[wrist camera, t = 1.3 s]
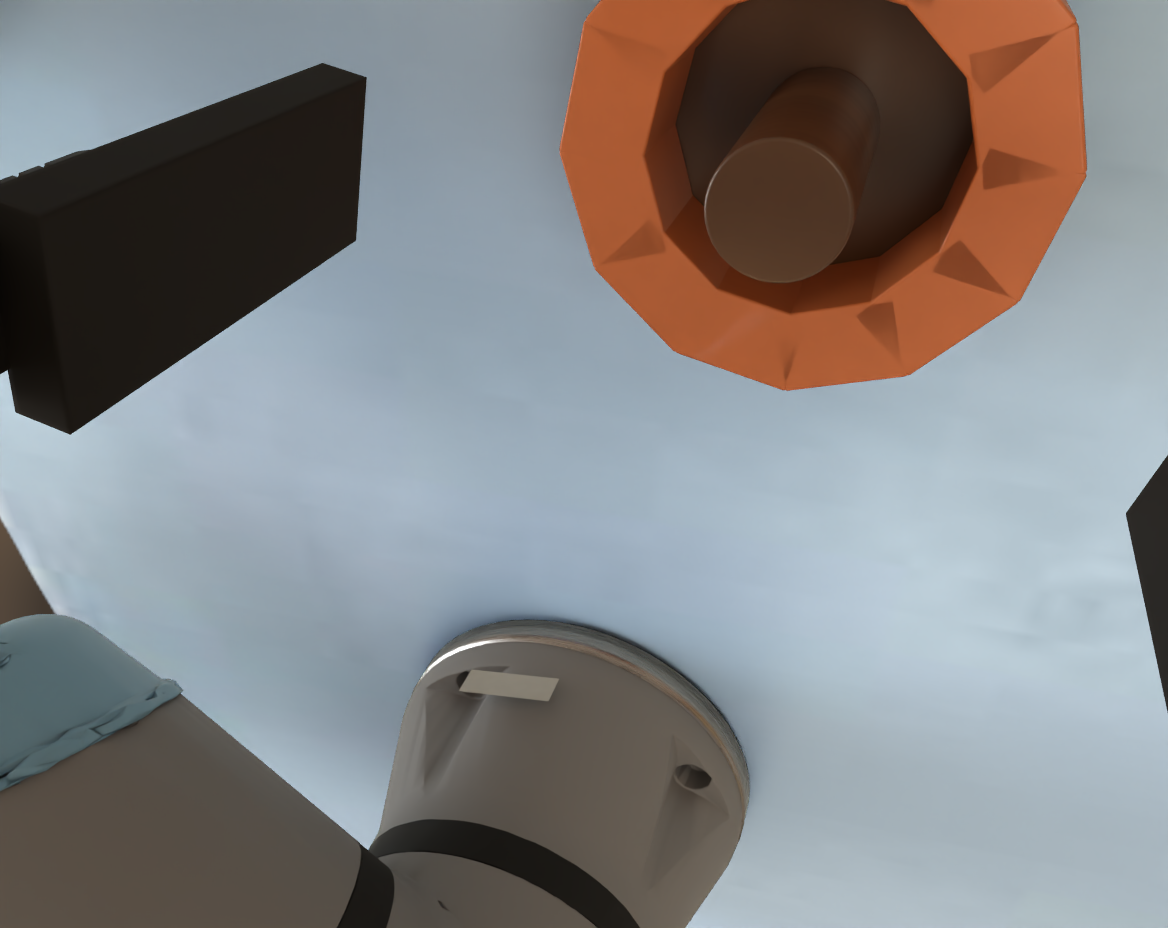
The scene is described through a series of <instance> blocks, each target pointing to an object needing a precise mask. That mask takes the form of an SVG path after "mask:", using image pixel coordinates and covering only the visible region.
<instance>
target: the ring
mask: <svg viewBox="0 0 1168 928" xmlns="http://www.w3.org/2000/svg"><path fill="white" fill-rule="evenodd" d="M745 1H748V0H601V1H600V2H599V3H598V4H597V5H596V7H595V8H594V9H593V10H592V11H591V13H590V14H589V15H588V16H587V17H586V21H585V22H584V24H583V29H582V34H581V39H580V44H579V50H578V55H577V60H576V65H575V70H574V75H573V81H572V86H571V91H570V96H569V101H568V106H567V112H566V117H565V122H564V127H563V132H562V138H561V143H560V148H559V149H560V156H561V160H562V163H563V166H564V170H565V173H566V176H567V180H568V183H569V186H570V189H571V193H572V196H573V199H574V203H575V206H576V209H577V213H578V216H579V219H580V223H581V226H582V229H583V233H584V236H585V239H586V243H587V246H588V249H589V252H590V256H591V259H592V262H593V266H594V267H595V270H596V271H597V272H598V273H599V274H600V275H601V276H602V277H603V278H604V279H605V280H606V281H607V282H608V283H609V284H610V286H611V287H612V288H613V289H614V290H615V291H616V292H617V293H618V294H619V295H620V296H621V297H622V298H623V299H624V300H625V301H626V302H627V303H628V304H629V305H630V306H631V307H632V308H633V309H634V310H635V311H636V312H637V314H638V315H639V316H640V317H641V318H642V319H643V320H644V321H645V322H646V323H647V324H648V325H649V326H650V327H651V328H652V329H653V330H654V331H655V332H656V333H657V334H658V335H659V336H660V337H661V338H662V339H663V341H664V342H665V343H666V344H667V345H668V346H669V347H670V348H671V349H672V350H673V351H676V352H677V353H679V354H682V355H685V356H687V357H690V358H693V359H696V360H699V361H702V362H705V363H707V364H710V365H713V366H716V367H719V368H722V369H724V370H727V371H730V372H733V373H736V374H739V375H741V376H744V377H747V378H750V379H753V380H756V381H758V382H761V383H764V384H767V385H770V386H773V387H775V388H778V389H781V390H787V391H788V390H797V389H805V388H813V387H821V386H829V385H838V384H846V383H854V382H862V381H871V380H879V379H887V378H895V377H904V376H907V375H910V374H912V373H913V372H915V371H916V370H918V369H919V368H921V367H922V366H924V365H925V364H927V363H928V362H930V361H931V360H933V359H934V358H936V357H937V356H939V355H940V354H942V353H943V352H945V351H946V350H948V349H949V348H951V347H952V346H954V345H955V344H957V343H958V342H960V341H961V340H963V339H964V338H966V337H967V336H969V335H970V334H972V333H973V332H975V331H976V330H978V329H979V328H981V327H982V326H984V325H985V324H987V323H988V322H990V321H991V320H993V319H994V318H996V317H997V316H999V315H1000V314H1002V313H1003V312H1005V311H1006V310H1008V309H1009V308H1011V307H1012V306H1014V305H1015V304H1017V302H1018V301H1020V300H1021V298H1022V296H1023V294H1024V292H1025V290H1026V289H1027V287H1028V285H1029V283H1030V281H1031V279H1032V277H1033V275H1034V274H1035V272H1036V270H1037V268H1038V266H1039V264H1040V262H1041V260H1042V259H1043V257H1044V255H1045V253H1046V251H1047V249H1048V247H1049V245H1050V244H1051V242H1052V240H1053V238H1054V236H1055V234H1056V232H1057V230H1058V229H1059V227H1060V225H1061V223H1062V221H1063V219H1064V217H1065V215H1066V214H1067V212H1068V210H1069V208H1070V206H1071V204H1072V202H1073V200H1074V199H1075V197H1076V195H1077V193H1078V191H1079V189H1080V187H1081V185H1082V184H1083V182H1084V180H1085V178H1086V170H1087V160H1086V143H1085V126H1084V109H1083V92H1082V75H1081V58H1080V42H1079V26H1078V24H1077V22H1076V17H1075V15H1074V14H1073V12H1072V10H1071V8H1070V7H1069V5H1068V3H1067V1H1066V0H887V1H890V2H894V3H897V4H901V5H904V6H907V7H908V8H909V9H910V11H911V12H912V13H913V14H914V15H915V17H916V18H917V19H918V20H919V21H920V23H921V24H922V25H923V26H924V27H925V29H926V30H927V31H928V32H929V33H930V35H931V36H932V37H933V38H934V39H935V41H936V42H937V43H938V44H939V45H940V47H941V48H942V49H943V50H944V51H945V53H946V54H947V55H948V56H949V57H950V59H951V60H952V61H953V62H954V63H955V65H956V66H957V67H958V68H959V70H960V71H961V72H962V73H963V74H964V76H965V77H966V78H967V86H968V95H969V104H970V113H971V122H972V131H973V141H972V144H971V146H970V148H969V150H968V153H967V155H966V157H965V159H964V161H963V164H962V166H961V168H960V170H959V172H958V175H957V177H956V179H955V181H954V184H953V186H952V188H951V190H950V192H949V195H948V197H947V199H946V201H945V204H944V206H943V208H942V209H941V210H940V211H939V212H937V213H936V214H935V215H933V216H932V217H931V218H929V219H928V220H927V221H926V222H924V223H923V224H922V225H920V226H919V227H918V228H916V229H915V230H914V231H913V232H911V233H910V234H909V235H907V236H906V237H905V238H903V239H902V240H901V241H899V242H898V243H897V244H896V245H894V246H893V247H892V248H890V249H889V250H888V251H886V252H885V253H884V254H883V255H881V256H880V257H874V258H868V259H862V260H856V261H851V262H845V263H839V264H833V265H828V266H827V267H826V268H824V269H823V270H821V271H820V272H819V273H817V274H815V275H813V276H811V277H808V278H806V279H803V280H799V281H795V282H790V283H769V282H763V281H759V280H755V279H752V278H750V277H748V276H745V275H744V274H742V273H740V272H738V271H737V270H735V269H734V268H733V267H731V266H730V265H729V264H728V263H727V262H726V261H725V260H724V259H723V258H722V257H721V256H720V254H719V253H718V252H717V250H716V249H715V247H714V246H713V244H712V242H711V240H710V237H709V235H708V232H707V229H706V224H705V218H704V206H703V205H702V204H701V203H700V202H699V201H698V200H697V199H696V198H695V197H694V196H693V194H692V190H691V186H690V182H689V178H688V174H687V169H686V165H685V161H684V157H683V153H682V149H681V145H680V141H679V137H678V133H677V129H676V125H675V124H676V120H677V116H678V112H679V109H680V105H681V101H682V97H683V93H684V90H685V86H686V82H687V78H688V74H689V70H690V67H691V63H692V59H693V55H694V51H695V48H696V47H697V46H698V45H699V44H700V43H701V42H702V41H703V40H704V39H705V38H706V37H707V35H708V34H709V33H710V32H711V31H712V30H713V29H714V28H715V27H716V26H717V25H718V24H719V23H720V22H721V21H722V20H723V18H724V17H725V16H726V15H727V14H728V13H729V12H730V11H731V10H732V9H733V8H734V7H735V6H736V5H737V4H738V3H742V2H745Z"/></svg>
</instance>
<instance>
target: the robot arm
mask: <svg viewBox="0 0 1168 928" xmlns="http://www.w3.org/2000/svg"><path fill="white" fill-rule="evenodd" d="M366 78H367V77H364V76H361V75H358V74H355V73H352V72H348V71H345V70H342V69H339V68H336V67H333V66H330V65H327V64H324V63H321V64H319V65H316V66H313V67H311V68H308V69H305V70H303V71H300V72H297V73H295V74H292V75H289V76H287V77H284V78H281V79H279V80H276V81H273V82H271V83H268V84H265V85H263V86H260V87H257V88H255V89H252V90H249V91H247V92H244V93H241V94H239V95H236V96H233V97H231V98H228V99H225V100H223V101H220V102H217V103H215V104H212V105H209V106H207V107H204V108H201V109H199V110H196V111H193V112H191V113H188V114H185V115H183V116H180V117H177V118H175V119H172V120H169V121H167V122H164V123H161V124H159V125H156V126H153V127H151V128H148V129H145V130H143V131H140V132H137V133H135V134H132V135H129V136H127V137H124V138H121V139H119V140H116V141H113V142H111V143H108V144H105V145H103V146H100V147H97V148H95V149H92V150H85V151H78V152H74V153H72V154H69V155H66V156H64V157H61V158H58V159H56V160H53V161H50V162H47V163H45V166H44V168H43V167H41V166H37V167H34V168H31V169H29V170H26V171H23V172H21V173H19V176H18V177H15V176H10V177H7V178H4V179H2V180H0V374H1V373H3V372H5V371H7V370H8V374H9V380H10V385H11V390H12V396H13V401H14V406H15V412H16V413H18V414H21V415H23V416H26V417H28V418H31V419H33V420H36V421H38V422H41V423H43V424H46V425H48V426H50V427H53V428H55V429H58V430H60V431H63V432H65V433H68V434H70V435H71V434H72V433H74V432H75V431H76V430H78V429H79V428H81V427H82V426H84V425H85V424H87V423H88V422H90V421H91V420H93V419H94V418H96V417H97V416H99V415H100V414H101V413H103V412H104V411H106V410H107V409H109V408H110V407H112V406H113V405H115V404H116V403H118V402H119V401H121V400H122V399H124V398H125V397H126V396H128V395H129V394H131V393H132V392H134V391H135V390H137V389H138V388H140V387H141V386H143V385H144V384H146V383H147V382H149V381H150V380H151V379H153V378H154V377H156V376H157V375H159V374H160V373H162V372H163V371H165V370H166V369H168V368H169V367H171V366H172V365H174V364H175V363H176V362H178V361H179V360H181V359H182V358H184V357H185V356H187V355H188V354H190V353H191V352H193V351H194V350H196V349H197V348H199V347H200V346H201V345H203V344H204V343H206V342H207V341H209V340H210V339H212V338H213V337H215V336H216V335H218V334H219V333H221V332H222V331H224V330H225V329H226V328H228V327H229V326H231V325H232V324H234V323H235V322H237V321H238V320H240V319H241V318H243V317H244V316H246V315H247V314H249V313H250V312H251V311H253V310H254V309H256V308H257V307H259V306H260V305H262V304H263V303H265V302H266V301H268V300H269V299H271V298H272V297H274V296H275V295H276V294H278V293H279V292H281V291H282V290H284V289H285V288H287V287H288V286H290V285H291V284H293V283H294V282H296V281H297V280H298V279H300V278H301V277H303V276H304V275H306V274H307V273H309V272H310V271H312V270H313V269H315V268H316V267H318V266H319V265H321V264H322V263H323V262H325V261H326V260H328V259H329V258H331V257H332V256H334V255H335V254H337V253H338V252H340V251H341V250H343V249H344V248H346V247H347V246H348V245H350V244H351V243H353V242H354V241H356V232H357V216H358V201H359V186H360V170H361V155H362V139H363V124H364V109H365V93H366ZM1126 517H1127V522H1128V527H1129V531H1130V536H1131V541H1132V545H1133V550H1134V555H1135V560H1136V564H1137V569H1138V574H1139V579H1140V583H1141V588H1142V593H1143V598H1144V602H1145V607H1146V612H1147V617H1148V621H1149V626H1150V631H1151V635H1152V640H1153V645H1154V650H1155V654H1156V659H1157V664H1158V669H1159V673H1160V678H1161V683H1162V688H1163V692H1164V697H1165V702H1166V707H1167V711H1168V456H1167V457H1166V458H1165V460H1164V461H1163V462H1162V464H1161V465H1160V467H1159V468H1158V469H1157V471H1156V472H1155V474H1154V475H1153V476H1152V478H1151V479H1150V481H1149V482H1148V483H1147V485H1146V486H1145V488H1144V489H1143V490H1142V492H1141V493H1140V495H1139V496H1138V497H1137V499H1136V500H1135V502H1134V503H1133V504H1132V506H1131V507H1130V508H1129V510H1128V511H1127V513H1126ZM182 691H183V690H182V688H181V687H180V686H179V685H178V683H177V682H176V681H174V680H171V679H161V678H160V677H158V676H157V675H156V674H154V673H153V672H152V671H150V670H149V669H148V668H146V667H145V666H144V665H142V664H141V663H139V662H138V661H137V660H135V659H134V658H133V657H131V656H130V655H129V654H127V653H126V652H125V651H123V650H122V649H121V648H119V647H118V646H117V645H115V644H114V643H113V642H111V641H110V640H109V639H107V638H106V637H105V636H103V635H102V634H101V633H99V632H98V631H97V630H95V629H94V628H92V627H91V626H89V625H87V624H85V623H84V622H82V621H80V620H77V619H75V618H72V617H68V616H64V615H57V614H39V615H32V616H26V617H21V618H18V619H14V620H11V621H9V622H6V623H4V624H1V625H0V928H685V927H686V926H687V924H688V923H689V922H690V920H691V919H692V917H693V916H694V914H695V913H696V911H697V910H698V908H699V907H700V906H701V904H702V903H703V901H704V900H705V898H706V897H707V895H708V894H709V893H710V891H711V890H712V888H713V887H714V885H715V884H716V882H717V881H718V879H719V878H720V877H721V875H722V874H723V872H724V871H725V869H726V868H727V866H728V864H729V862H730V860H731V858H732V856H733V853H734V851H735V849H736V846H737V844H738V842H739V839H740V837H741V833H742V829H743V825H744V820H745V816H746V812H747V807H748V803H749V793H750V785H749V775H748V769H747V765H746V761H745V758H744V755H743V752H742V750H741V748H740V746H739V743H738V741H737V739H736V737H735V736H734V734H733V732H732V730H731V729H730V727H729V725H728V724H727V723H726V721H725V720H724V718H723V717H722V716H721V714H720V713H719V712H718V710H717V709H716V708H715V707H714V706H713V705H712V704H711V702H710V701H709V700H708V699H707V698H706V697H705V696H704V695H703V694H702V693H701V692H700V691H699V690H698V689H697V688H696V687H695V686H693V685H692V684H691V683H690V682H689V681H688V680H686V679H685V678H684V677H683V676H682V675H680V674H679V673H677V672H676V671H675V670H673V669H672V668H671V667H669V666H668V665H666V664H665V663H663V662H662V661H660V660H658V659H657V658H655V657H653V656H652V655H650V654H648V653H646V652H645V651H643V650H641V649H639V648H637V647H635V646H633V645H631V644H629V643H626V642H624V641H622V640H620V639H617V638H615V637H612V636H609V635H607V634H604V633H601V632H598V631H595V630H591V629H588V628H584V627H581V626H576V625H571V624H566V623H561V622H553V621H545V620H510V621H502V622H496V623H491V624H487V625H483V626H480V627H477V628H474V629H472V630H469V631H467V632H465V633H463V634H461V635H459V636H457V637H456V638H454V639H453V640H452V641H450V642H449V643H447V644H446V645H445V646H444V647H443V648H442V649H441V650H440V651H439V652H438V653H437V654H436V656H435V657H434V658H433V659H432V661H431V662H430V664H429V665H428V667H427V669H426V670H425V672H424V673H423V675H422V676H421V678H420V679H419V681H418V683H417V684H416V686H415V688H414V690H413V693H412V695H411V698H410V700H409V702H408V704H407V707H406V709H405V712H404V715H403V719H402V724H401V729H400V734H399V738H398V743H397V748H396V753H395V758H394V762H393V767H392V772H391V777H390V781H389V786H388V791H387V796H386V801H385V805H384V810H383V815H382V820H381V824H380V829H379V832H378V834H377V836H376V838H375V839H374V841H373V843H372V845H371V846H370V848H369V850H367V849H366V848H365V847H363V846H362V845H361V844H360V843H359V842H358V841H357V840H356V839H354V838H353V837H352V836H351V835H350V834H348V833H347V832H346V831H345V830H344V829H342V828H341V827H340V826H339V825H338V824H336V823H335V822H334V821H333V820H332V819H330V818H329V817H328V816H327V815H326V814H324V813H323V812H322V811H321V810H320V809H318V808H317V807H316V806H315V805H314V804H312V803H311V802H310V801H309V800H308V799H306V798H305V797H304V796H303V795H302V794H300V793H299V792H298V791H297V790H296V789H294V788H293V787H292V786H291V785H290V784H288V783H287V782H286V781H285V780H284V779H282V778H281V777H280V776H279V775H278V774H276V773H275V772H274V771H273V770H272V769H270V768H269V767H268V766H267V765H266V764H264V763H263V762H262V761H261V760H260V759H258V758H257V757H256V756H255V755H254V754H252V753H251V752H250V751H249V750H248V749H246V748H245V747H244V746H243V745H242V744H240V743H239V742H238V741H237V740H236V739H234V738H233V737H232V736H231V735H230V734H228V733H227V732H226V731H225V730H224V729H222V728H221V727H220V726H219V725H218V724H216V723H215V722H214V721H213V720H212V719H210V718H209V717H208V716H207V715H206V714H204V713H203V712H202V711H201V710H200V709H198V708H197V707H196V706H195V705H194V704H192V703H191V702H190V701H189V700H188V699H186V698H185V697H184V696H183V695H182V694H180V693H181V692H182Z"/></svg>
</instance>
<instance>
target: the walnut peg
mask: <svg viewBox="0 0 1168 928" xmlns="http://www.w3.org/2000/svg"><path fill="white" fill-rule="evenodd" d="M675 125H676V129H677V133H678V137H679V141H680V145H681V149H682V153H683V157H684V161H685V165H686V169H687V174H688V178H689V182H690V186H691V190H692V194H693V196H694V197H695V198H696V199H697V200H698V201H699V202H700V203H701V204H702V205H703V206H704V218H705V224H706V229H707V232H708V235H709V237H710V240H711V242H712V244H713V246H714V247H715V249H716V250H717V252H718V253H719V254H720V256H721V257H722V258H723V259H724V260H725V261H726V262H727V263H728V264H729V265H730V266H731V267H733V268H734V269H735V270H737V271H738V272H740V273H742V274H744V275H745V276H748V277H750V278H752V279H755V280H759V281H763V282H769V283H790V282H795V281H799V280H803V279H806V278H808V277H811V276H813V275H815V274H817V273H819V272H820V271H821V270H823V269H824V268H826V267H827V266H828V265H833V264H839V263H845V262H851V261H856V260H862V259H868V258H874V257H880V256H881V255H883V254H884V253H885V252H886V251H888V250H889V249H890V248H892V247H893V246H894V245H896V244H897V243H898V242H899V241H901V240H902V239H903V238H905V237H906V236H907V235H909V234H910V233H911V232H913V231H914V230H915V229H916V228H918V227H919V226H920V225H922V224H923V223H924V222H926V221H927V220H928V219H929V218H931V217H932V216H933V215H935V214H936V213H937V212H939V211H940V210H941V209H942V208H943V206H944V204H945V201H946V199H947V197H948V195H949V192H950V190H951V188H952V186H953V184H954V181H955V179H956V177H957V175H958V172H959V170H960V168H961V166H962V164H963V161H964V159H965V157H966V155H967V153H968V150H969V148H970V146H971V144H972V141H973V131H972V122H971V113H970V104H969V95H968V86H967V78H966V77H965V76H964V74H963V73H962V72H961V71H960V70H959V68H958V67H957V66H956V65H955V63H954V62H953V61H952V60H951V59H950V57H949V56H948V55H947V54H946V53H945V51H944V50H943V49H942V48H941V47H940V45H939V44H938V43H937V42H936V41H935V39H934V38H933V37H932V36H931V35H930V33H929V32H928V31H927V30H926V29H925V27H924V26H923V25H922V24H921V23H920V21H919V20H918V19H917V18H916V17H915V15H914V14H913V13H912V12H911V11H910V9H909V8H908V7H907V6H904V5H901V4H897V3H894V2H890V1H887V0H748V1H745V2H742V3H738V4H737V5H736V6H735V7H734V8H733V9H732V10H731V11H730V12H729V13H728V14H727V15H726V16H725V17H724V18H723V20H722V21H721V22H720V23H719V24H718V25H717V26H716V27H715V28H714V29H713V30H712V31H711V32H710V33H709V34H708V35H707V37H706V38H705V39H704V40H703V41H702V42H701V43H700V44H699V45H698V46H697V47H696V48H695V51H694V55H693V59H692V63H691V67H690V70H689V74H688V78H687V82H686V86H685V90H684V93H683V97H682V101H681V105H680V109H679V112H678V116H677V120H676V124H675Z"/></svg>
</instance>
